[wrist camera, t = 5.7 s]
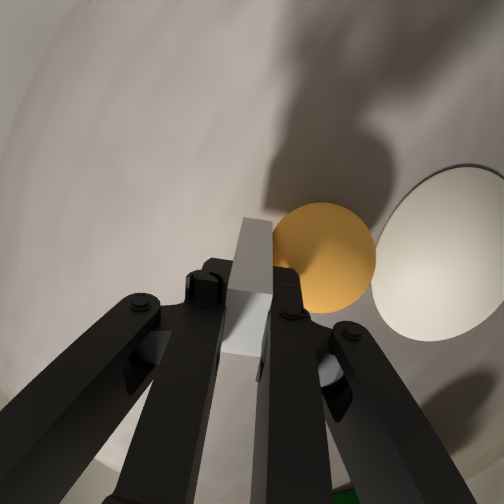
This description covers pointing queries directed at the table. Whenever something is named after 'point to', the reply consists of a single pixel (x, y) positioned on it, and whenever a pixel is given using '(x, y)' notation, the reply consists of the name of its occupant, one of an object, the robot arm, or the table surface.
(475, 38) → the table surface
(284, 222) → the ball
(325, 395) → the robot arm
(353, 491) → the milk carton
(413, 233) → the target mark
